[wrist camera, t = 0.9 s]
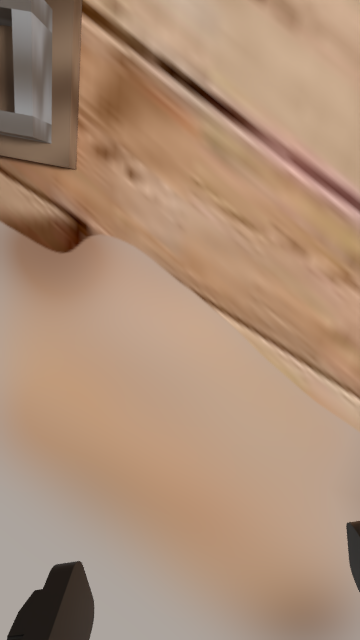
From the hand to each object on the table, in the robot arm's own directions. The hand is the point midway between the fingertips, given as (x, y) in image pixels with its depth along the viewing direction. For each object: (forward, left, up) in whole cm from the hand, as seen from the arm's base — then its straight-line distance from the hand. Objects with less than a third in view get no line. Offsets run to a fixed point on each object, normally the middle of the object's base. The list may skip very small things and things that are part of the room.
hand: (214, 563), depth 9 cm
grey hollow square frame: (-17, -23, -26) cm, 38 cm away
